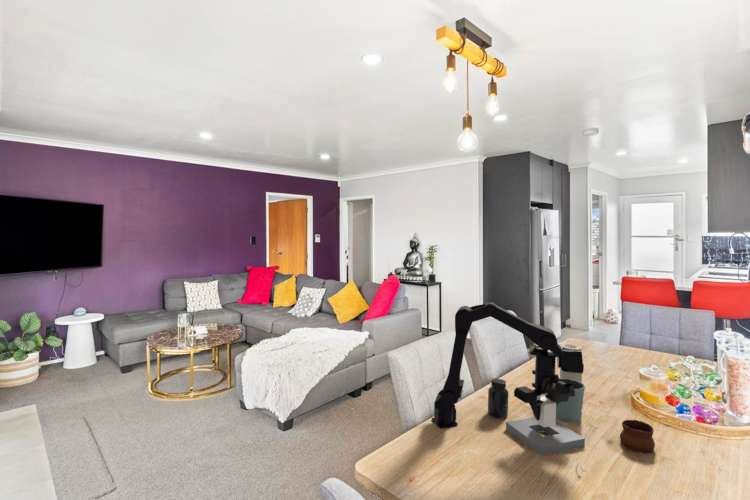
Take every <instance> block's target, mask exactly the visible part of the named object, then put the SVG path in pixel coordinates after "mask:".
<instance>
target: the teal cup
mask: <svg viewBox="0 0 750 500" xmlns="http://www.w3.org/2000/svg"><path fill="white" fill-rule="evenodd" d="M561 381H562V382H564V383H572V384H573V385H574V390H575V396H572V397H569V399H568V401H567V402H560V403H558V405H557V407H556V419H558V420H559V421H562V422H565V423H573V424H575V423H580V422H581V421H582V414H583V413H582V410H583V404H584V395H585V394H584V393H585V387H586V386H585V384H584V383H583V382H582V383H581V382H579V381H576V380H573V379H567V378H560V377H559V382H561Z"/></svg>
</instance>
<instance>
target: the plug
mask: <svg viewBox="0 0 750 500" xmlns="http://www.w3.org/2000/svg"><path fill="white" fill-rule="evenodd" d="M540 400H541V401H543V403H542V404H541V406H540V419H539V420H537V419H536V418H535V416H534V413H533V412H532V417H533V421H535V422H536V423H538V424H539V425H541V426H542V427H549V426H555V425H556V421H557V420H556V419H557V418H556V403H555V402H553V401H552V400H550V399H548V398H546V396H540Z"/></svg>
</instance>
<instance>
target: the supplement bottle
mask: <svg viewBox="0 0 750 500" xmlns="http://www.w3.org/2000/svg"><path fill="white" fill-rule="evenodd" d="M490 382H491V384H490V385H491V386H490V387H489V388H488V391H487V392H488V393H487V413H488V415H489V416H490V417H493V418H496V419H505V418H507V417H508V414H509V391H508V389H507V384H506V383H507V382H506V380H504V379H502V378H493V379H491V381H490Z"/></svg>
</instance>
